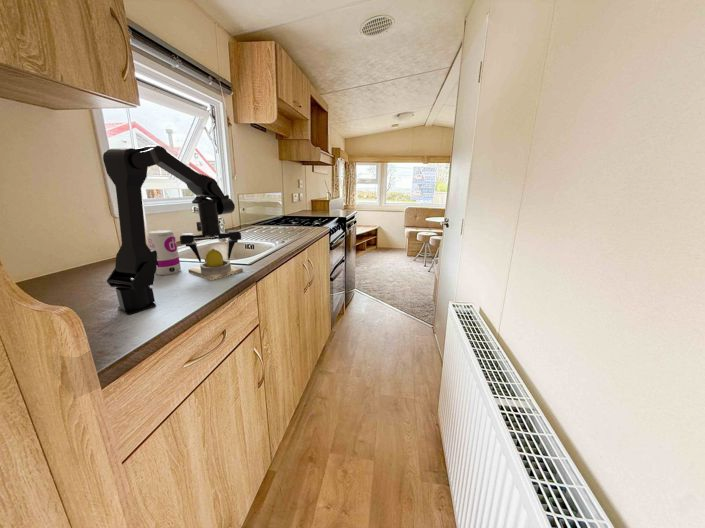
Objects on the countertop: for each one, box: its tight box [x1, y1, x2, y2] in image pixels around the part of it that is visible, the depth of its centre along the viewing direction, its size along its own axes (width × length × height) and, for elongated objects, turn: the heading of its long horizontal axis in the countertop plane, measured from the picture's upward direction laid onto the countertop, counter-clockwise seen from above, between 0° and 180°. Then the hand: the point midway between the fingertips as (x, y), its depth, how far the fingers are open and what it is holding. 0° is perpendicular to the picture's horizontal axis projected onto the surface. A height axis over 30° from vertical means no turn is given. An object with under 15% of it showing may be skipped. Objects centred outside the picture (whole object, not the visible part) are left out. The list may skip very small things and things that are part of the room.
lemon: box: [205, 248, 224, 267], centre depth 99 cm, size 6×6×8 cm
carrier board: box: [188, 256, 244, 281], centre depth 102 cm, size 12×15×4 cm
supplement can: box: [146, 229, 182, 276], centre depth 99 cm, size 8×8×15 cm
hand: (214, 260), depth 99 cm, fingers open, 9 cm apart
